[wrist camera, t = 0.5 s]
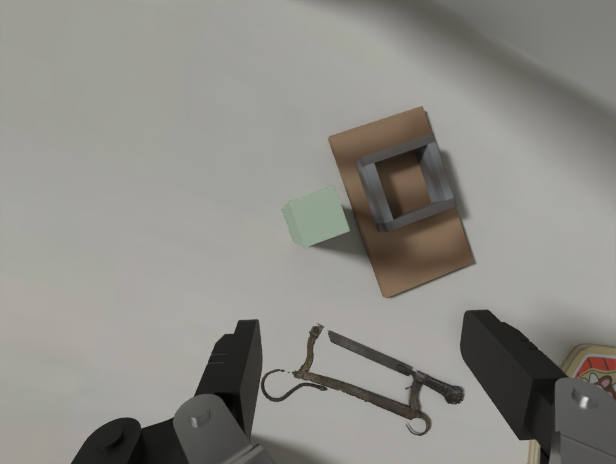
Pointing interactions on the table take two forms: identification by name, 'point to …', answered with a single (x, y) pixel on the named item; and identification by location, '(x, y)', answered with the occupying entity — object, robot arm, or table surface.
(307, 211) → the peg block
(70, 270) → the table surface
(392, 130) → the tool stand
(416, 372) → the hacksaw
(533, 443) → the knob puzzle
